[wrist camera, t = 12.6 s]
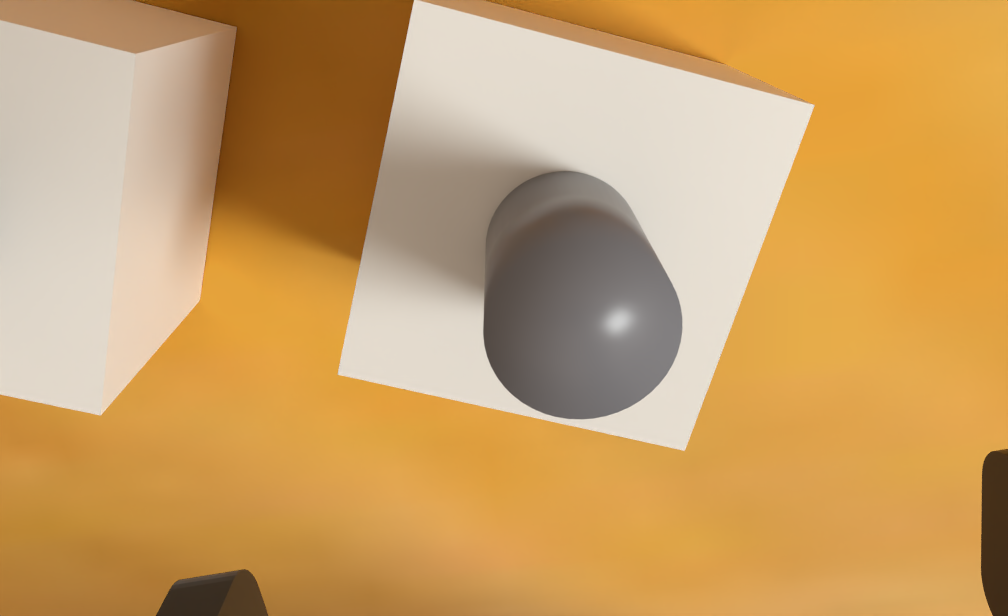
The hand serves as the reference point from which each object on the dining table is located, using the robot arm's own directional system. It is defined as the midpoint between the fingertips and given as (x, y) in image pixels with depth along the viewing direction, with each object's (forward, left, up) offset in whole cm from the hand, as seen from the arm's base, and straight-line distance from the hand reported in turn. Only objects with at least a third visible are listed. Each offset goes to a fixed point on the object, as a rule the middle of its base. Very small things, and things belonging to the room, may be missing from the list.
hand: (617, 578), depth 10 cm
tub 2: (-2, +14, -20) cm, 24 cm away
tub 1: (0, 0, -20) cm, 20 cm away
